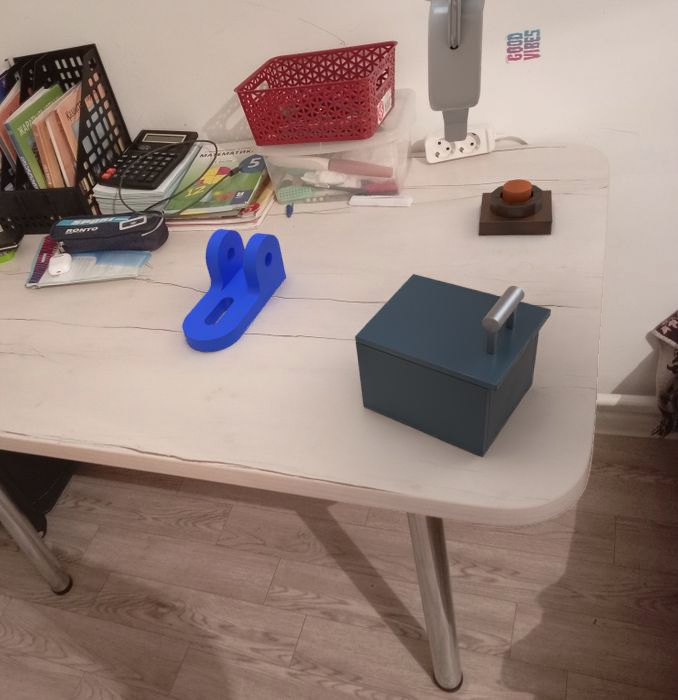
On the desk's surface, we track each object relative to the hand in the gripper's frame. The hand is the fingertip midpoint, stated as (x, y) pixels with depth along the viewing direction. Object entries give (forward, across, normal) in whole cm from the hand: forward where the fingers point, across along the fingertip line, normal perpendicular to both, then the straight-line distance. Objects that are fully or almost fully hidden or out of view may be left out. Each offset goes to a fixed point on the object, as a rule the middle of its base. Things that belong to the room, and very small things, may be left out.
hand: (457, 112), depth 56 cm
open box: (+27, -10, +1) cm, 29 cm away
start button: (+25, +25, -7) cm, 36 cm away
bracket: (+28, +4, +30) cm, 41 cm away
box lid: (+17, -10, 0) cm, 20 cm away
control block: (+29, +25, -7) cm, 38 cm away
